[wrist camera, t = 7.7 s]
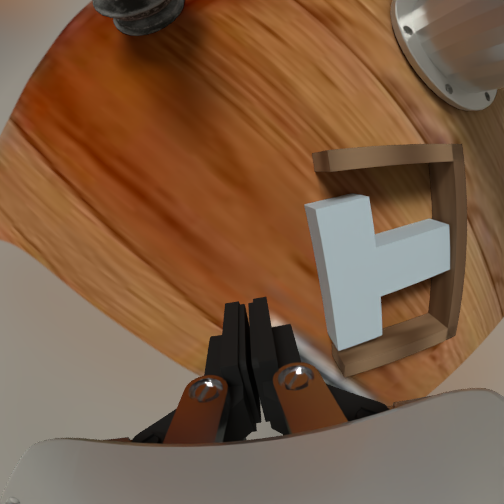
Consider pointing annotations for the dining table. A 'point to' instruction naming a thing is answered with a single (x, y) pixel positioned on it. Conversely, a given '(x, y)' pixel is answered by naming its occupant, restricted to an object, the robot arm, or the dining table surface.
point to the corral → (442, 285)
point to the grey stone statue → (140, 14)
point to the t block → (368, 263)
